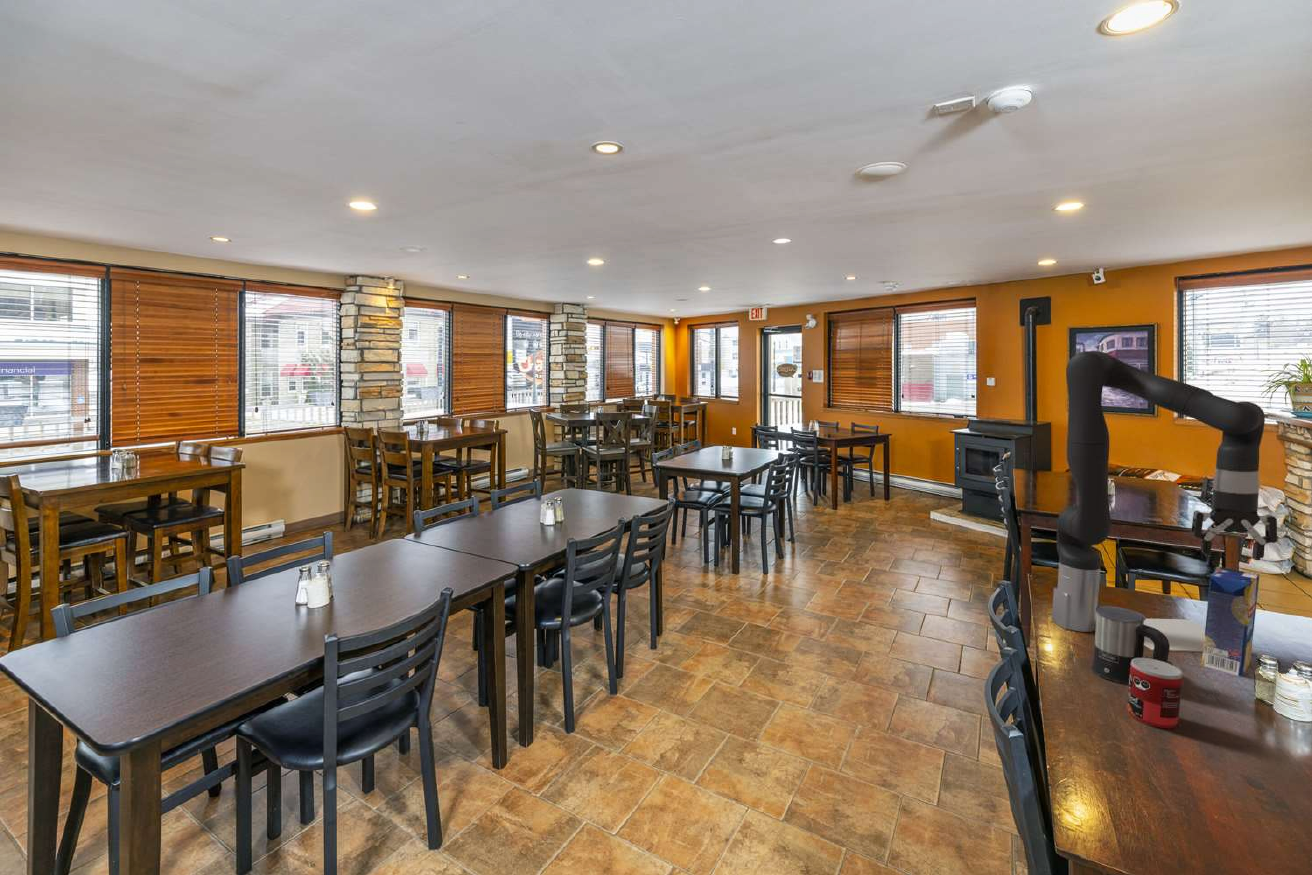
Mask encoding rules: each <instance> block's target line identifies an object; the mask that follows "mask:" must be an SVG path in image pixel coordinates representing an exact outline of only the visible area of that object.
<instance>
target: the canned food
mask: <svg viewBox="0 0 1312 875" xmlns="http://www.w3.org/2000/svg"><path fill="white" fill-rule="evenodd" d="M1149 658H1150V657H1148V658H1144V657H1143V658H1134V659H1132V661H1131V666H1130V677H1129V684H1128V688H1127V689H1128V690H1127V705H1126V709H1127V712H1128V714H1129V715H1130V716H1131V717H1132V716H1133V717H1134V718H1133V717H1132V718H1133V719H1135V720H1136V719H1137V720H1136V721H1138V720H1139V722H1140V721H1141V722H1140V723H1142V722H1143V724H1144V723H1147V724H1150V725H1153V726H1155V728H1158V727H1159V728H1158V729H1164V728H1169V730H1170V729H1174V728H1176V727H1177V726H1178V723H1179V719H1180V718H1179V717H1180V707H1181V696H1182V687H1183V671H1182V670H1181V669H1180V668H1178V667H1177V666H1175V665H1174V664H1173V665H1170V664H1168V663H1165V662H1162V661H1159V660H1154V659H1149ZM1147 724H1146V725H1147ZM1150 725H1149V726H1150ZM1153 726H1152V727H1153Z"/></svg>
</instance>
